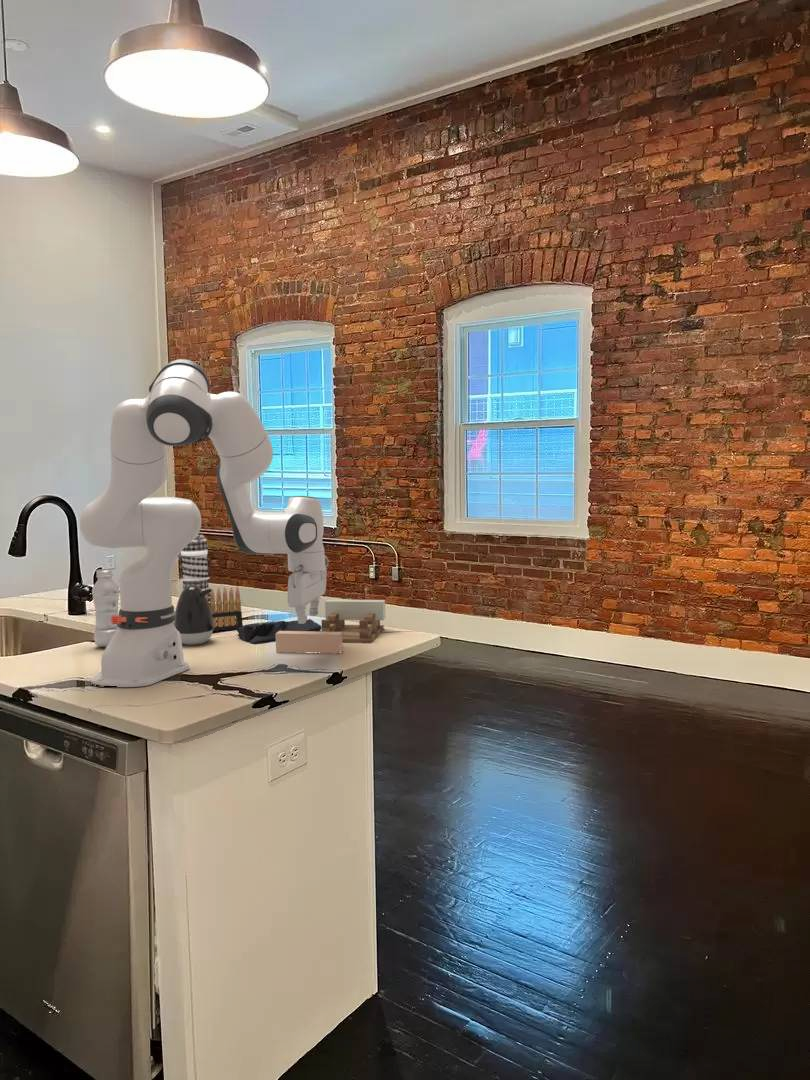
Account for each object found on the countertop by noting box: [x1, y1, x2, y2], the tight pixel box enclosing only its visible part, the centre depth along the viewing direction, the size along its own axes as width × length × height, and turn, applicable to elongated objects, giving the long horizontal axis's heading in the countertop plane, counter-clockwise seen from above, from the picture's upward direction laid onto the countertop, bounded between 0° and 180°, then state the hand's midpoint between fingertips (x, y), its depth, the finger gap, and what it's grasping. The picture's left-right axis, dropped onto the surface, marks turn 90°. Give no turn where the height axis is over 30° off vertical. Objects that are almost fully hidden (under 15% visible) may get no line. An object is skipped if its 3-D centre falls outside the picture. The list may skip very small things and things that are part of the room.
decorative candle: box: [178, 534, 211, 605], centre depth 242 cm, size 9×9×25 cm
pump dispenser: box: [173, 585, 214, 646], centre depth 206 cm, size 10×10×15 cm
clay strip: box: [275, 631, 344, 654], centre depth 194 cm, size 16×3×5 cm, turn 80°
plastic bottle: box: [91, 568, 120, 648], centre depth 204 cm, size 6×7×20 cm
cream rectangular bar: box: [324, 599, 387, 621], centre depth 216 cm, size 16×3×5 cm, turn 80°
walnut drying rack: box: [321, 613, 385, 644], centre depth 212 cm, size 17×14×6 cm
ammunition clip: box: [205, 586, 244, 632], centre depth 222 cm, size 11×2×12 cm, turn 113°
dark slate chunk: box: [236, 618, 322, 645], centre depth 215 cm, size 15×22×5 cm
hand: (308, 619), depth 193 cm, fingers open, 8 cm apart
